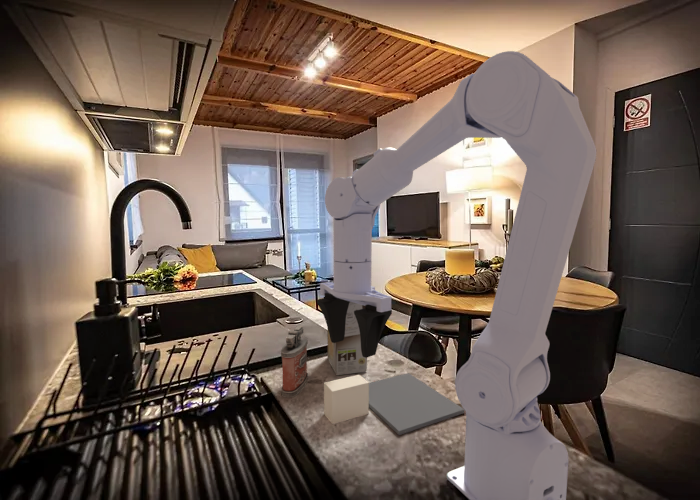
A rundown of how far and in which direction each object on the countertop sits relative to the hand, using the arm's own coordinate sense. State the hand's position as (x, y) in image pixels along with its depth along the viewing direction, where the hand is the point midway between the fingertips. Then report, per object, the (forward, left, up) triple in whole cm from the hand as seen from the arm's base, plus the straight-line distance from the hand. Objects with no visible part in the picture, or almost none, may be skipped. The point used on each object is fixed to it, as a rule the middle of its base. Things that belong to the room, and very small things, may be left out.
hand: (352, 348), depth 55 cm
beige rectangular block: (-1, +2, -10) cm, 10 cm away
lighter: (+11, +6, -10) cm, 15 cm away
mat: (-2, -8, -9) cm, 13 cm away
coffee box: (+15, -6, -10) cm, 19 cm away
